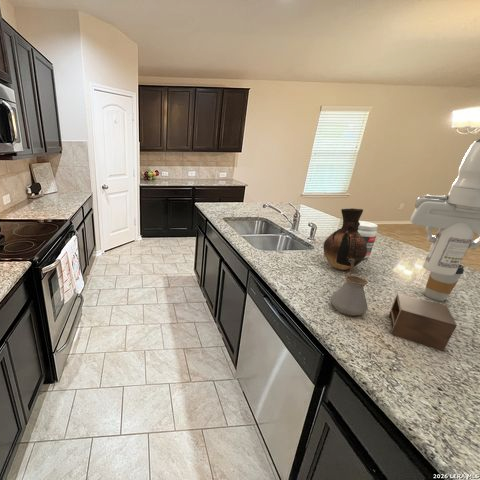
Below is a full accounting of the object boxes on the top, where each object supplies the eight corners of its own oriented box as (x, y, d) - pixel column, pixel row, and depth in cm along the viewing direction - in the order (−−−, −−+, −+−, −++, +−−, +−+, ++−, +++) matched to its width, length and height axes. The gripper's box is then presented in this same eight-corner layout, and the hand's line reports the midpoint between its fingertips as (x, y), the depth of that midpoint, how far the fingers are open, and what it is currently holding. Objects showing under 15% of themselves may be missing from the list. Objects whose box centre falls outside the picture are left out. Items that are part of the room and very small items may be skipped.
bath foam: (461, 275, 74) (494, 209, 67) (442, 276, 73) (474, 210, 66) (434, 264, 81) (461, 203, 73) (416, 266, 80) (442, 204, 72)
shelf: (434, 329, 85) (446, 305, 81) (443, 351, 76) (457, 325, 72) (388, 315, 92) (397, 292, 88) (391, 334, 83) (401, 309, 79)
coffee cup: (447, 305, 97) (464, 270, 92) (418, 295, 104) (432, 262, 98) (450, 298, 102) (467, 264, 96) (422, 289, 108) (436, 257, 103)
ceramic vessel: (359, 280, 115) (380, 216, 104) (315, 268, 125) (330, 210, 115) (361, 263, 130) (379, 207, 120) (322, 255, 141) (336, 202, 130)
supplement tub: (370, 261, 133) (381, 228, 126) (341, 256, 139) (350, 224, 132) (367, 253, 143) (377, 222, 136) (340, 248, 149) (348, 218, 143)
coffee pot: (368, 323, 87) (381, 285, 82) (329, 312, 93) (339, 277, 87) (359, 293, 105) (370, 261, 99) (326, 286, 110) (335, 255, 105)
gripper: (420, 195, 72) (404, 240, 77) (537, 205, 61) (508, 257, 66) (417, 192, 77) (401, 234, 82) (525, 200, 66) (499, 249, 71)
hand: (450, 244), depth 74 cm, fingers closed on bath foam, 7 cm apart
